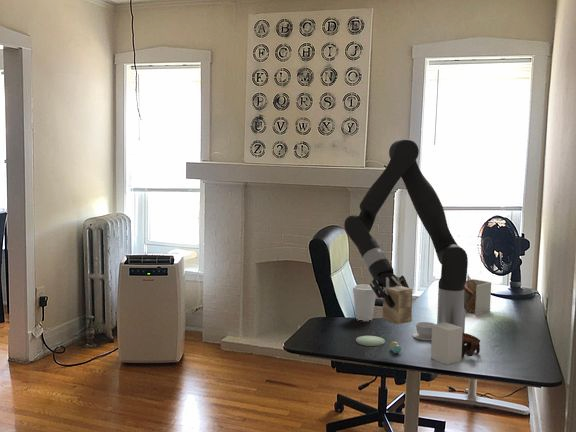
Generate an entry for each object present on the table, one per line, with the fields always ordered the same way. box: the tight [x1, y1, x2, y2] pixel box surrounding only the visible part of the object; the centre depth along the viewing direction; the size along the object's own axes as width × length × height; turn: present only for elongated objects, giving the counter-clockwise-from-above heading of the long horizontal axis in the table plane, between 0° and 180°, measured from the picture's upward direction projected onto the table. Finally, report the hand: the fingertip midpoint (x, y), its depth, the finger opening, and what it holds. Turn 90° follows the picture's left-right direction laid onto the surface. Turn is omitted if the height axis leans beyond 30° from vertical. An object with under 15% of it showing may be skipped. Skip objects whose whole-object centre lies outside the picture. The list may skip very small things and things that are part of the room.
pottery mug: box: [461, 332, 481, 359], centre depth 206 cm, size 12×10×8 cm
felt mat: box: [355, 335, 386, 347], centre depth 220 cm, size 10×10×1 cm
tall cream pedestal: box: [430, 322, 463, 365], centre depth 201 cm, size 6×7×11 cm
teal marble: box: [391, 344, 402, 355], centre depth 207 cm, size 3×3×3 cm
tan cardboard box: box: [382, 286, 413, 325], centre depth 207 cm, size 6×7×11 cm
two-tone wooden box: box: [464, 273, 492, 316], centre depth 264 cm, size 9×11×17 cm
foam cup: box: [352, 284, 377, 322], centre depth 248 cm, size 10×9×13 cm
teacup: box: [411, 321, 436, 341], centre depth 226 cm, size 10×10×5 cm
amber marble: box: [390, 341, 400, 350], centre depth 210 cm, size 3×3×3 cm
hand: (400, 305), depth 206 cm, fingers closed on tan cardboard box, 6 cm apart
